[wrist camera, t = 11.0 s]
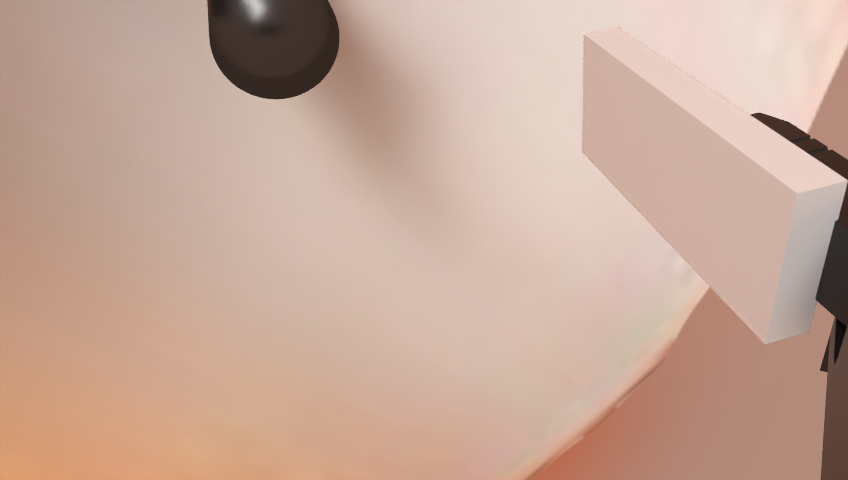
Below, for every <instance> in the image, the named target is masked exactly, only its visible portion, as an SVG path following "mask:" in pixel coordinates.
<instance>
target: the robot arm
mask: <svg viewBox="0 0 848 480" xmlns="http://www.w3.org/2000/svg"><path fill="white" fill-rule="evenodd" d="M582 153H583V154H584V155H585V156H586V157H587V158H588V159H589V160H590V161H591V162H592V163H593V164H594V165H595V166H596V167H597V168H598V169H599V170H600V171H601V173H602V174H603V175H604V176H605V177H606V178H607V179H608V180H609V181H610V182H611V183H612V184H613V185H614V186H615V187H616V188H617V189H618V190H619V191H620V193H621V194H622V195H623V196H624V197H625V198H626V199H627V200H628V201H629V202H630V203H631V204H632V205H633V206H634V207H635V208H636V209H637V210H638V211H639V212H640V214H641V215H642V216H643V217H644V218H645V219H646V220H647V221H648V222H649V223H650V224H651V225H652V226H653V227H654V228H655V229H656V230H657V231H658V232H659V234H660V235H661V236H662V237H663V238H664V239H665V240H666V241H667V242H668V243H669V244H670V245H671V246H672V247H673V248H674V249H675V250H676V251H677V252H678V253H679V255H680V256H681V257H682V258H683V259H684V260H685V261H686V262H687V263H688V264H689V265H690V266H691V267H692V268H693V269H694V270H695V271H696V272H697V273H698V275H699V276H700V277H701V278H702V279H703V280H704V281H705V282H706V283H707V284H708V285H709V286H710V287H711V288H712V289H713V290H714V291H715V292H716V293H717V294H718V296H719V297H720V298H721V299H722V300H723V301H724V302H725V303H726V304H727V305H728V306H729V307H730V308H731V309H732V310H733V311H734V312H735V313H736V314H737V316H738V317H740V319H741V320H742V321H743V322H744V323H745V324H746V325H747V326H748V327H749V328H750V329H751V330H752V331H753V332H754V333H755V334H756V335H757V336H758V337H759V339H760V340H761V341H762V342H763V343H764V344H768V343H772V342H775V341H779V340H782V339H786V338H789V337H793V336H796V335H800V334H803V333H807V332H809V330H810V326H811V323H812V319H813V314H814V311H815V307H816V303H817V301H818V302H819V303H820V304H821V305H822V306H823V307H825V308H826V309H827V310H828V311H829V312H830V313H831V314H833V315H834V316H835V319H834V322H833V326H832V329H831V333H830V336H829V340H828V344H827V347H826V351H825V354H824V358H823V362H822V365H821V369H820V370H821V371H825V372H828V375H827V391H826V406H825V422H824V437H823V452H822V468H821V480H848V160H847V159H846V158H844V157H843V156H841V155H839V154H838V153H836V152H835V151H833V150H828V149H827V146H825V145H823V144H822V143H821V142H819V141H817V140H816V139H810V135H808V134H807V133H805V132H803V131H802V130H800V129H799V128H797V127H796V126H794V125H792V124H791V123H789V122H787V121H784V120H781V119H778V118H775V117H772V116H769V115H765V114H762V113H755V114H751V115H749V114H748V113H747V112H745V111H744V110H742V109H741V108H739V107H738V106H736V105H735V104H733V103H732V102H730V101H729V100H727V99H726V98H724V97H723V96H721V95H720V94H718V93H717V92H715V91H714V90H712V89H711V88H709V87H708V86H706V85H705V84H703V83H702V82H700V81H699V80H697V79H696V78H694V77H693V76H691V75H690V74H688V73H687V72H685V71H684V70H682V69H681V68H679V67H678V66H676V65H675V64H673V63H672V62H670V61H669V60H667V59H666V58H664V57H663V56H661V55H660V54H658V53H657V52H655V51H654V50H652V49H651V48H649V47H648V46H646V45H645V44H643V43H642V42H640V41H639V40H637V39H636V38H634V37H633V36H631V35H630V34H628V33H627V32H625V31H624V30H622V29H621V28H619V27H615V28H610V29H606V30H601V31H596V32H591V33H587V34H584V55H583V130H582Z"/></svg>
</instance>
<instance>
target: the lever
mask: <svg viewBox="0 0 848 480" xmlns="http://www.w3.org/2000/svg"><path fill="white" fill-rule="evenodd" d="M207 2H208V21H209V38H210V46H211V50H212V54H213V56H214V59H215V61H216V63H217V65H218V67H219V68H220V70H221V71H222V73H223V74H224V75H225V76H226V77H227V78H228V79H229V80H230V81H231V82H232V83H233V84H234V85H235V86H237V87H238V88H240V89H241V90H243V91H245V92H247V93H249V94H251V95H254V96H258V97H262V98H267V99H285V98H291V97H294V96H297V95H300V94H303V93H305V92H307V91H309V90H310V89H312V88H313V87H315V86H316V85H317V84H318V83H320V82H321V81H322V79H323V78H324V77H325V76H326V75H327V73H328V72H329V71H330V69H331V67H332V65H333V64H334V61H335V59H336V56H337V52H338V47H339V29H338V23H337V20H336V17H335V14H334V12H333V10H332V8H331V6H330V4H329V2H328V0H207Z"/></svg>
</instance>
